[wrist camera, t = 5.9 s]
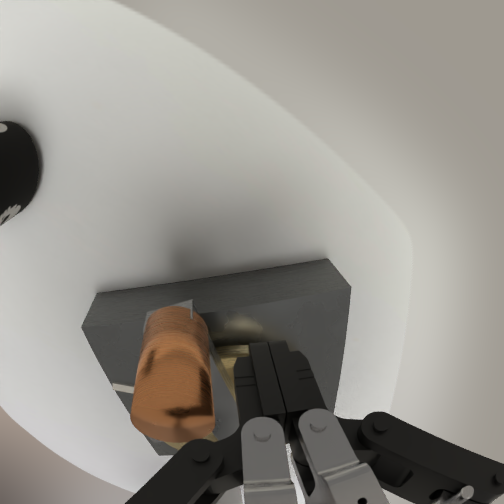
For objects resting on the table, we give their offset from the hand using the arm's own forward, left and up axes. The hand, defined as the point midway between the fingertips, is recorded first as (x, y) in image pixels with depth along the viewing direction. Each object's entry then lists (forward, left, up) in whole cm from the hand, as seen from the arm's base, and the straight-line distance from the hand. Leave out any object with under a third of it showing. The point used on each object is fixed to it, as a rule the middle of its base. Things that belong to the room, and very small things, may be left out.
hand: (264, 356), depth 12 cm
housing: (-10, +2, -10) cm, 14 cm away
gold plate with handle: (-7, +3, -5) cm, 9 cm away
